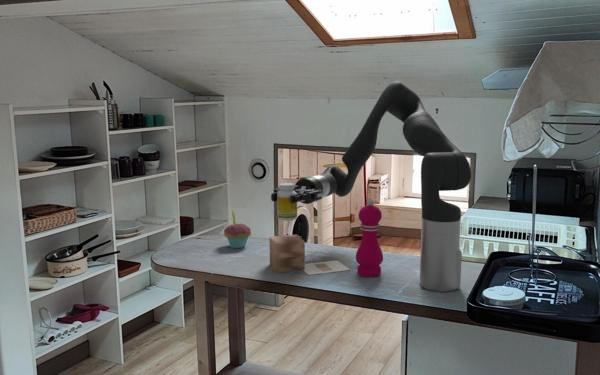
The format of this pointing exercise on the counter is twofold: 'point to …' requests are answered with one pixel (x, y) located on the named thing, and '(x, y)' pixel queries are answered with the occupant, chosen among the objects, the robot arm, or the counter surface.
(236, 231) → the cupcake
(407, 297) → the counter surface
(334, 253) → the counter surface
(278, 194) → the supplement bottle
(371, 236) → the pepper mill
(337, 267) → the page
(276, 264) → the tan cubic block
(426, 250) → the robot arm
